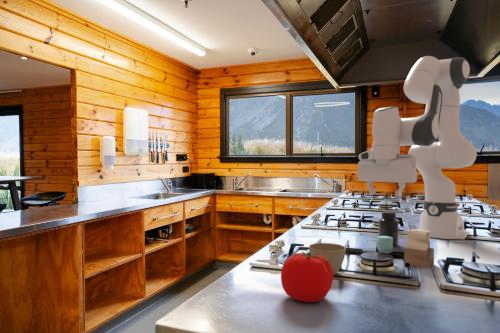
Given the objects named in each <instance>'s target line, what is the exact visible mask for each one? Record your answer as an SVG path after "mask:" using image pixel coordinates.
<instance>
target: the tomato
mask: <svg viewBox="0 0 500 333" xmlns="http://www.w3.org/2000/svg"><path fill="white" fill-rule="evenodd" d="M280 273H281V274H280V281H281V285H282V289H283V290H284V292H285V294H286V295H287V296H288V297H290V298H291V299H294V300H296V301H300V302H305V303H316V302H320V301H322V300H323V299H324V298H326V296H327V295H328V294H329V292H330V290H331V289H332V285H333V283H334V275H333V269H332V267H331V265H330V263H329V262H328V260H327V259H326V258H325V257H323V256H320V255H317V254H311V253H310V252H304V251H302V250H300V252H298V253H293V255H291V256H290V257H288V258H287V259H286V260H285V261H284V262H283V265H282V267H281V272H280Z"/></svg>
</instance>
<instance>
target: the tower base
mask: <svg viewBox="0 0 500 333" xmlns="http://www.w3.org/2000/svg"><path fill="white" fill-rule="evenodd" d="M403 251H404V252H403V254H404V255H403V256H404V257H403V260H404V261H403V262H404V265H407V264H406V263H409V264H410V265H409V266H413V267H416V268H420V269H426V268H429V267H432V266H434V265H433V264H435V248H433V247H430V248H429V249H427V250H426V251H422V250H416V249H409V248H407V246H406V247H404V250H403Z"/></svg>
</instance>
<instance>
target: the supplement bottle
mask: <svg viewBox="0 0 500 333" xmlns="http://www.w3.org/2000/svg"><path fill="white" fill-rule="evenodd" d="M396 215H397V212H394V211H387V210H386V211H381V218H380V219H379V220H378V236H389V237H392V238H393V247H397V246H399V225H400V224H399V221H398V220H397V219H396V218H397V216H396Z"/></svg>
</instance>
